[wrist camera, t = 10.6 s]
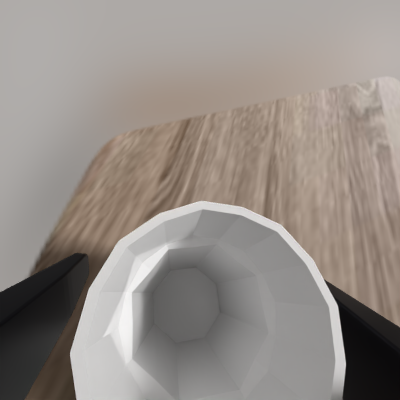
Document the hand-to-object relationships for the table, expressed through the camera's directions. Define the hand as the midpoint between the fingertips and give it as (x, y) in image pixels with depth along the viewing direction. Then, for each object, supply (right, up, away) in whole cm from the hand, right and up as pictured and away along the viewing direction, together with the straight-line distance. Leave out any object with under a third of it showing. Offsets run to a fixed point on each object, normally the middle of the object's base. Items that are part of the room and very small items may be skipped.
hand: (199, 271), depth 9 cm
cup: (-1, -4, +7) cm, 8 cm away
